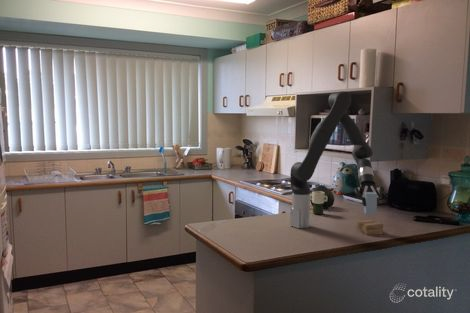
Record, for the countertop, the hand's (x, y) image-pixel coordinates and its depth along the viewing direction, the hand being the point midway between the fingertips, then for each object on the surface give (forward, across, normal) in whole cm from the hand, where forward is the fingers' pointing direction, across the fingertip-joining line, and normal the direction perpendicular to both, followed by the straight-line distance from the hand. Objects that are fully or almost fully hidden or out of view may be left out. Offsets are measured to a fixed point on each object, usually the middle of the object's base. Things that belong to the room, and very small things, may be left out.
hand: (371, 205), depth 200 cm
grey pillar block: (+2, 0, +4) cm, 5 cm away
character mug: (-17, -22, +37) cm, 46 cm away
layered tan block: (+9, 0, +11) cm, 14 cm away
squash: (-30, -18, +50) cm, 61 cm away
